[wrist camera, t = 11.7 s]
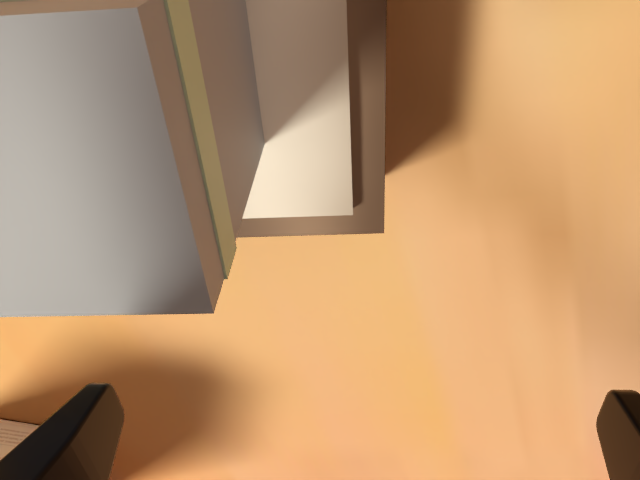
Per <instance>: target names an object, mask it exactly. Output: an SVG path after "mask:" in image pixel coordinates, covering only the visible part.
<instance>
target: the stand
mask: <svg viewBox="0 0 640 480" xmlns="http://www.w3.org/2000/svg"><path fill="white" fill-rule="evenodd" d="M245 1H246V8H247V16H248V23H249V31H250V38H251V45H252V53H253V60H254V68H255V75H256V83H257V90H258V97H259V105H260V112H261V120H262V127H263V134H264V142H265V145H264V148H263V151H262V155H261V158H260V161H259V165H258V168H257V171H256V174H255V178H254V181H253V184H252V188H251V191H250V194H249V198H248V201H247V204H246V208H245V211H244V214H243V218H242V221H241V224H240V227H239V231H238V234H237V237H268V236H302V235H337V234H371V233H384V192H385V100H386V7H387V0H245Z"/></svg>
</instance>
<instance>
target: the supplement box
mask: <svg viewBox="0 0 640 480" xmlns="http://www.w3.org/2000/svg"><path fill="white" fill-rule="evenodd" d="M38 427H39V425H34V424H28V423H21V422H15V421H8V420H2V419H0V460H1V459H2V458H3V457H4V456H5V455H7V454H8V453H9V452H10V451H11V450H12V449H14V448H15V447H16V446H17V445H18V444H19V443H20V442H22V441H23V440H24V439H25V438H26V437H27V436H28V435H30V434H31V433H32V432H33V431H34V430H35V429H36V428H38Z"/></svg>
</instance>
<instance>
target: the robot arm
mask: <svg viewBox="0 0 640 480" xmlns="http://www.w3.org/2000/svg"><path fill="white" fill-rule="evenodd" d="M123 423H124V409H123V407H122V404H121V402H120V400H119V398H118V395H117V393H116V391H115V388H114V387H113V385H111V384H110V383H90V384H88V385H86V386H85V387H83V388H82V389H81V390H80V391H79V392H78V393H77V394H75V395H74V396H73V397H72V398H71V399H70V400H69V401H67V402H66V403H65V404H64V405H63V406H62V407H61V408H59V409H58V410H57V411H56V412H55V413H54V414H53V415H51V416H50V417H49V418H48V419H47V420H46V421H44V422H43V423H42V424H41V425H40V426H39V427H38V428H36V429H35V430H34V431H33V432H32V433H31V434H30V435H28V436H27V437H26V438H25V439H24V440H23V441H22V442H20V443H19V444H18V445H17V446H16V447H15V448H14V449H12V450H11V451H10V452H9V453H8V454H7V455H5V456H4V457H3V458H2V459H1V460H0V480H109V478H110V474H111V470H112V466H113V462H114V458H115V454H116V451H117V447H118V443H119V439H120V435H121V431H122V427H123ZM596 427H597V433H598V437H599V440H600V444H601V448H602V452H603V456H604V459H605V463H606V467H607V471H608V474H609V478H610V480H640V394H639V393H638V392H636V391H633V390H611V391H609V392H608V393H607V395H606V397H605V400H604V402H603V405H602V407H601V409H600V412H599V414H598V417H597V422H596Z"/></svg>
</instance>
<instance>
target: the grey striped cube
mask: <svg viewBox="0 0 640 480" xmlns="http://www.w3.org/2000/svg"><path fill="white" fill-rule="evenodd" d="M264 145H265V142H264V134H263V127H262V120H261V112H260V105H259V97H258V90H257V83H256V75H255V68H254V60H253V53H252V45H251V38H250V31H249V23H248V16H247V8H246V1H245V0H0V317H30V316H89V315H147V314H206V313H214V310H215V307H216V304H217V300H218V297H219V294H220V290H221V287H222V284H223V280H224V279H228V276H229V272H230V269H231V265H232V262H233V259H234V255H235V252H236V243H235V241H236V237H237V234H238V231H239V227H240V224H241V221H242V218H243V214H244V211H245V208H246V204H247V201H248V198H249V194H250V191H251V188H252V184H253V181H254V178H255V174H256V171H257V168H258V165H259V161H260V158H261V155H262V151H263V148H264Z"/></svg>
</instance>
